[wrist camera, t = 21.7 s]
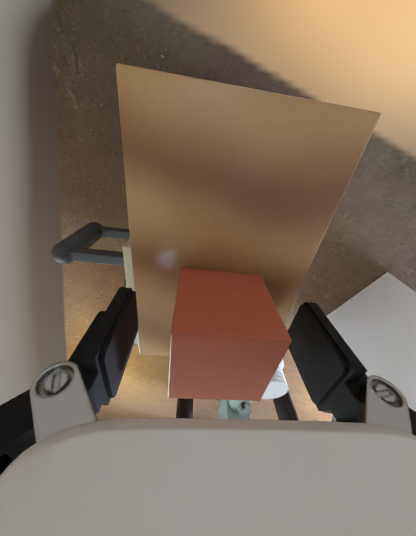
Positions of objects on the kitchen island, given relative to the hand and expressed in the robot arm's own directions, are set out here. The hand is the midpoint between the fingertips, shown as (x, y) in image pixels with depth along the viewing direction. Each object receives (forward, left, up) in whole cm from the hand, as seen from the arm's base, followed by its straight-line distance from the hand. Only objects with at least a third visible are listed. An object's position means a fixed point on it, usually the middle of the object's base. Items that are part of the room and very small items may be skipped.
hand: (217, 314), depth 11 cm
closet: (-2, 0, -16) cm, 16 cm away
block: (0, 0, -1) cm, 1 cm away
